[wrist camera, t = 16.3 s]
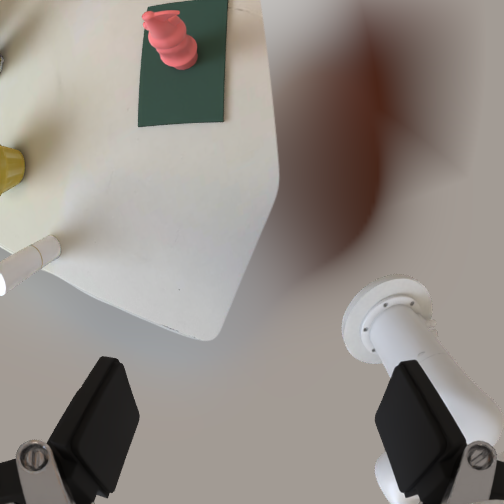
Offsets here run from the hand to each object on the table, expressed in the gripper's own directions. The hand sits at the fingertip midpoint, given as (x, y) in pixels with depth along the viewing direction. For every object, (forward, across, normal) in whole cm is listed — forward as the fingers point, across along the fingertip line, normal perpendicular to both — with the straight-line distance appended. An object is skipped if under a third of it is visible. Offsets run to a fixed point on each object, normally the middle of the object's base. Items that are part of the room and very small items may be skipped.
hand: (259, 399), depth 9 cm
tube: (+34, +35, +6) cm, 49 cm away
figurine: (+33, +10, -22) cm, 41 cm away
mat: (+33, +10, -22) cm, 41 cm away
